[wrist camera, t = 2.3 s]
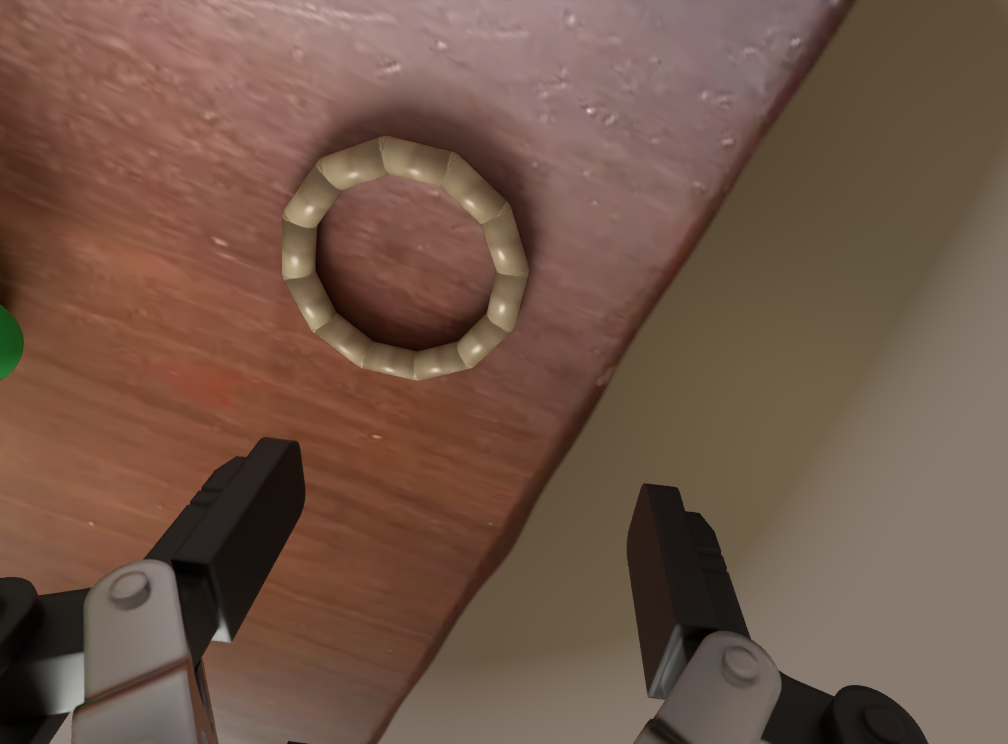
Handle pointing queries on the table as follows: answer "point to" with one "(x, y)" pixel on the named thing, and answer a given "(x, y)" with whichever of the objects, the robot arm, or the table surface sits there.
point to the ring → (422, 167)
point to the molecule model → (9, 342)
